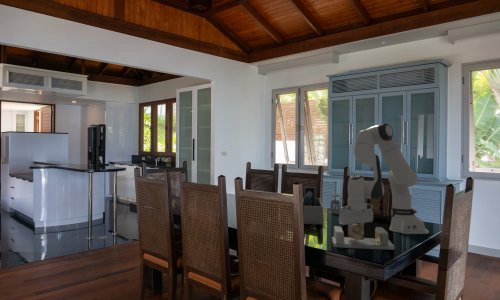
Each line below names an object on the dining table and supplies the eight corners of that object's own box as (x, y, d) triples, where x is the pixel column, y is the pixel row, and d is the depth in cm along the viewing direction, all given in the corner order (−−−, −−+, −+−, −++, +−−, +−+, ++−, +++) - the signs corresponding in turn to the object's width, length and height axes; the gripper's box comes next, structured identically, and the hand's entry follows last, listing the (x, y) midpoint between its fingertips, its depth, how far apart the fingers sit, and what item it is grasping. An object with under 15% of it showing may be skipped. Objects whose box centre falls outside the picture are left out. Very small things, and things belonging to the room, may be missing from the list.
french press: (332, 211, 292) (332, 180, 292) (346, 212, 285) (346, 181, 285) (326, 212, 285) (327, 181, 284) (340, 214, 277) (340, 182, 277)
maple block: (354, 236, 197) (354, 223, 197) (363, 239, 190) (363, 226, 190) (348, 236, 196) (348, 223, 195) (357, 240, 188) (357, 227, 188)
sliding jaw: (382, 238, 197) (382, 227, 197) (388, 245, 183) (388, 233, 183) (374, 237, 198) (374, 227, 198) (380, 244, 184) (380, 233, 184)
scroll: (363, 219, 259) (363, 191, 259) (365, 215, 273) (365, 189, 273) (385, 221, 253) (385, 193, 253) (386, 217, 267) (386, 190, 267)
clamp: (313, 224, 245) (313, 192, 245) (300, 223, 247) (300, 192, 247) (315, 214, 279) (315, 187, 279) (304, 214, 281) (304, 186, 281)
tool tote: (320, 213, 282) (320, 198, 282) (322, 224, 242) (322, 206, 242) (302, 212, 284) (302, 197, 284) (301, 223, 244) (301, 206, 244)
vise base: (387, 242, 197) (388, 228, 197) (394, 249, 183) (394, 234, 183) (331, 240, 201) (332, 226, 201) (334, 247, 187) (334, 231, 187)
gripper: (343, 207, 186) (343, 234, 186) (375, 205, 193) (375, 231, 193) (336, 205, 191) (336, 231, 192) (367, 203, 199) (367, 228, 199)
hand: (355, 231), depth 193 cm, fingers closed on maple block, 4 cm apart
